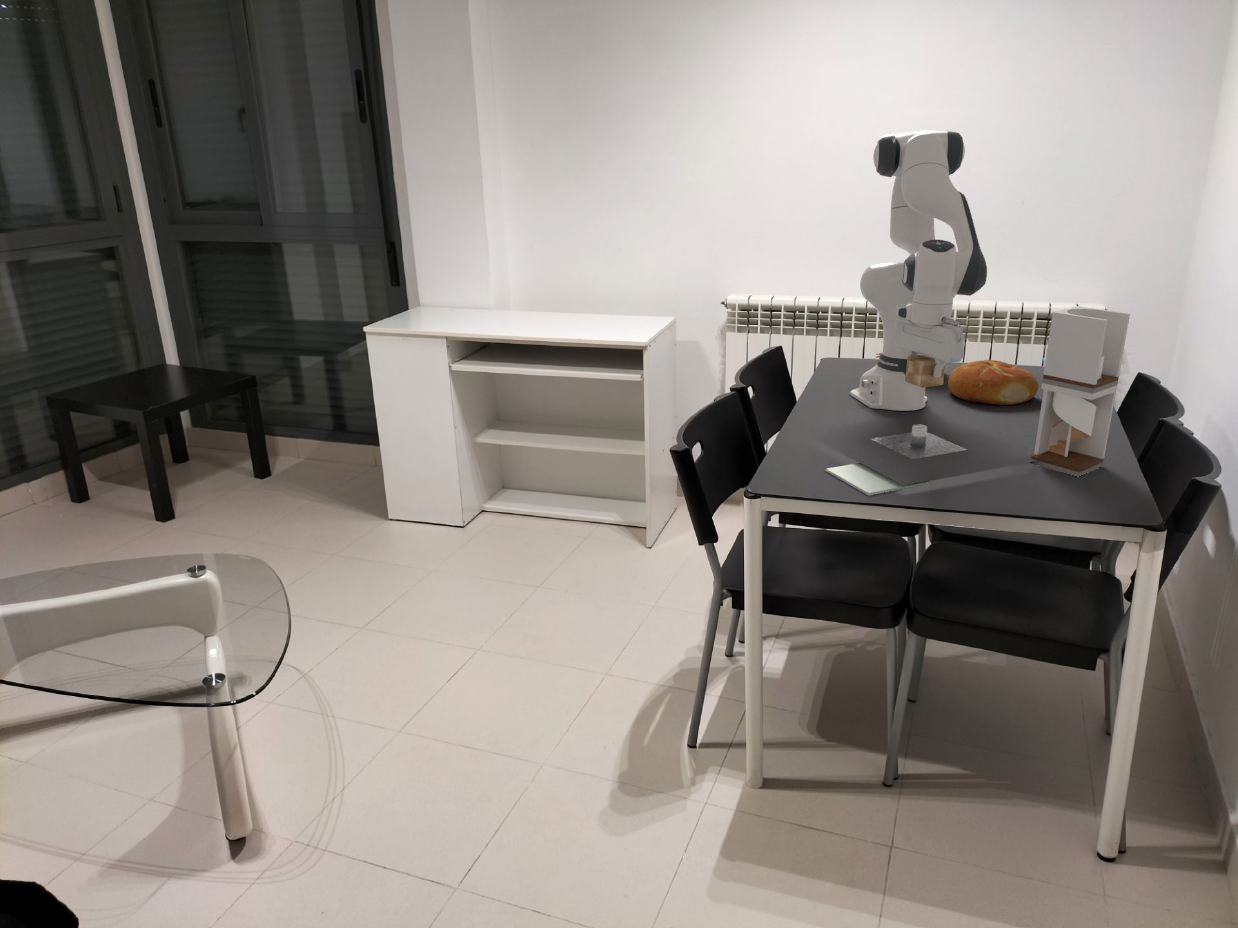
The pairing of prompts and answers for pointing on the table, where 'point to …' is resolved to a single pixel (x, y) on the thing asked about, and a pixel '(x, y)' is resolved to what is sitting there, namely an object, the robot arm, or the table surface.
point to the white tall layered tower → (1079, 388)
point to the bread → (992, 383)
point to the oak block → (922, 371)
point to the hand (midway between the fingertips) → (924, 373)
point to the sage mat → (868, 479)
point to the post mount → (918, 443)
